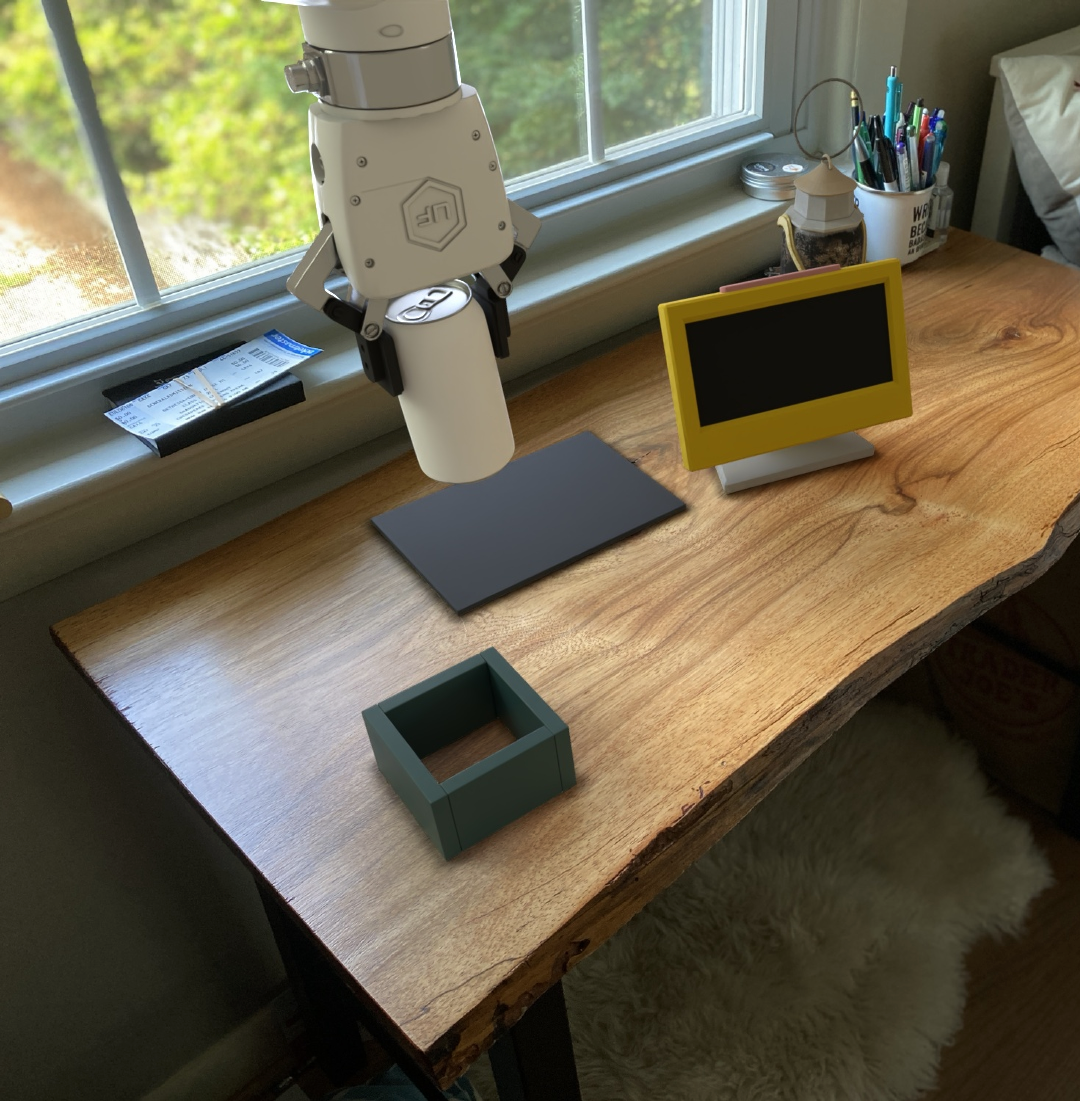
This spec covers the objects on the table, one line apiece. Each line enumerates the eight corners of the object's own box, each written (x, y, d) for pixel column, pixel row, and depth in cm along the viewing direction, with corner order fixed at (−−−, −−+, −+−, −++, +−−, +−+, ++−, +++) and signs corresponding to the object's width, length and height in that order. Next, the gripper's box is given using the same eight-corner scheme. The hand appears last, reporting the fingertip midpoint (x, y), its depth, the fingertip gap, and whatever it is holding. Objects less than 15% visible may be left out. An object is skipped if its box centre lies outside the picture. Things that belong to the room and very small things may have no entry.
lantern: (836, 321, 112) (852, 60, 96) (877, 356, 106) (901, 84, 91) (759, 339, 109) (763, 72, 94) (797, 375, 103) (808, 98, 88)
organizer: (446, 862, 61) (430, 804, 58) (378, 768, 66) (360, 711, 63) (577, 784, 65) (569, 726, 62) (503, 702, 71) (493, 645, 67)
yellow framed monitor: (691, 508, 87) (685, 326, 77) (655, 458, 93) (645, 282, 83) (909, 450, 93) (929, 275, 84) (864, 406, 99) (877, 237, 89)
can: (401, 477, 74) (349, 317, 66) (454, 423, 78) (412, 267, 70) (484, 496, 72) (441, 333, 64) (534, 439, 76) (499, 281, 68)
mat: (458, 617, 77) (457, 611, 77) (371, 523, 86) (370, 518, 85) (686, 509, 87) (686, 503, 87) (588, 434, 95) (587, 430, 95)
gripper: (251, 121, 52) (336, 440, 63) (563, 57, 61) (590, 348, 72) (197, 86, 57) (286, 389, 68) (494, 31, 65) (530, 308, 77)
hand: (442, 366), depth 70 cm, fingers closed on can, 6 cm apart
